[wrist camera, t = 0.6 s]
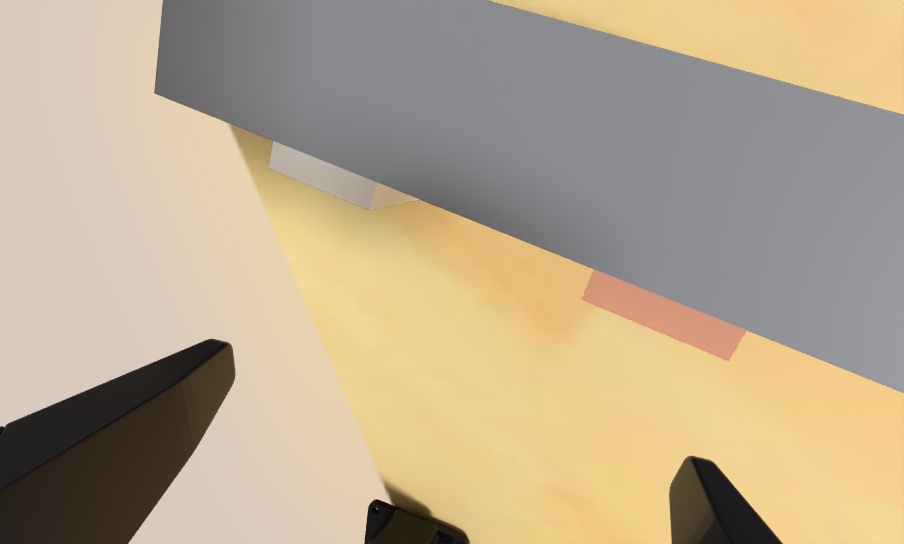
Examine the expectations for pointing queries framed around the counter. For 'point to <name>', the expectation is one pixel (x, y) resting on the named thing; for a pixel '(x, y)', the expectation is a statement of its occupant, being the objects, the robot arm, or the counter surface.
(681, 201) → the console
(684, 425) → the counter surface
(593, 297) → the terracotta button
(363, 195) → the cream button
